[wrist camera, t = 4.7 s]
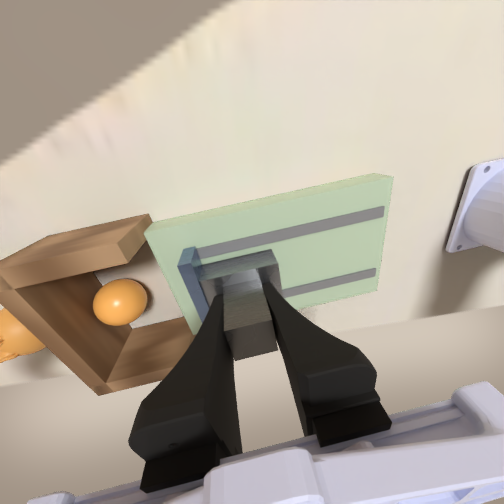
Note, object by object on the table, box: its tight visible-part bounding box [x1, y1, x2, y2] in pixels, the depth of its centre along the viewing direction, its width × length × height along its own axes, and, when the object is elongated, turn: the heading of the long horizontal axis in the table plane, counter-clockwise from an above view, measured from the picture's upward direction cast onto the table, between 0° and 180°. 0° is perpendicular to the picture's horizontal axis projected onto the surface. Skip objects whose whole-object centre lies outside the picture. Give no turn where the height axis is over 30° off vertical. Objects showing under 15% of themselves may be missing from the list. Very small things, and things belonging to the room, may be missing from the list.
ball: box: [93, 279, 147, 326], centre depth 16 cm, size 4×4×4 cm
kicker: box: [177, 246, 283, 361], centre depth 13 cm, size 6×7×6 cm
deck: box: [144, 173, 393, 335], centre depth 17 cm, size 17×10×2 cm, turn 101°
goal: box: [0, 214, 196, 396], centre depth 15 cm, size 7×11×5 cm, turn 11°
